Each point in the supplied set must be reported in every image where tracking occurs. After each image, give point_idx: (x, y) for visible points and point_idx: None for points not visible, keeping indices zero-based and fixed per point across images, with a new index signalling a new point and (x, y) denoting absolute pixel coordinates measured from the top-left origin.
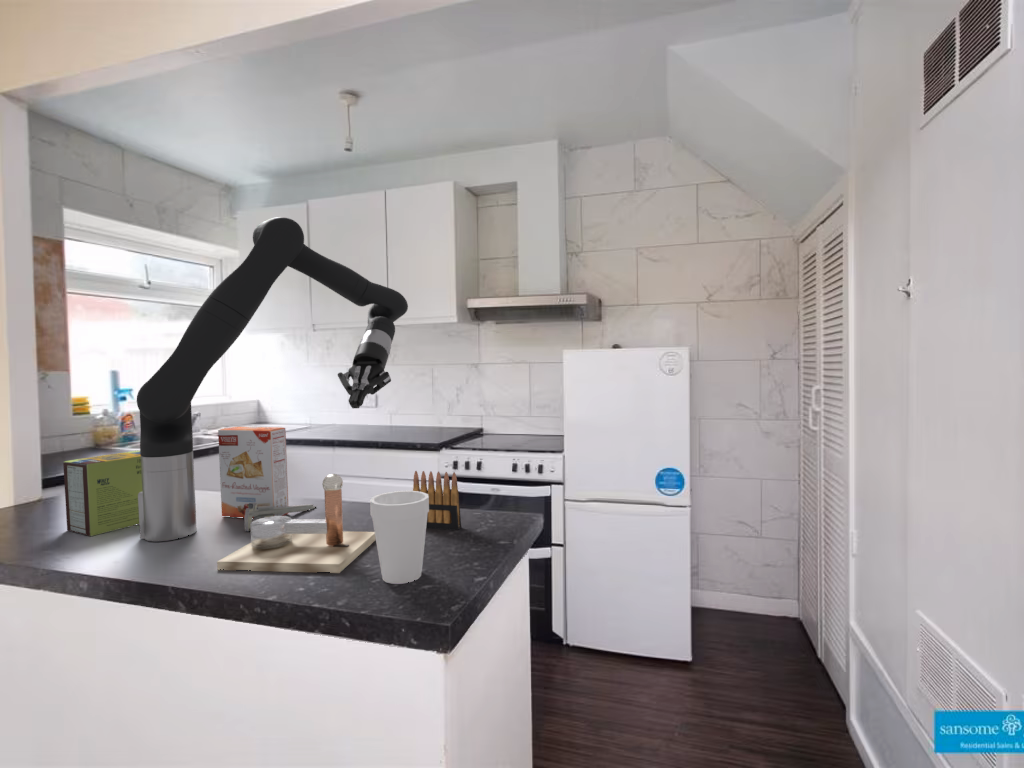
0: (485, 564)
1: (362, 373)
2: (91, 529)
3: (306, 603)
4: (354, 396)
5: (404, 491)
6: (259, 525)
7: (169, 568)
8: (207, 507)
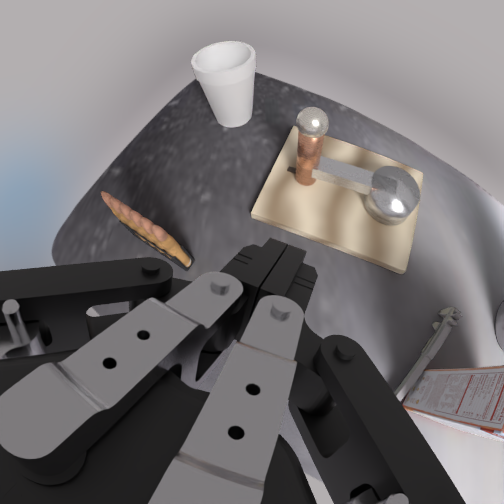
0: (157, 124)
1: (154, 452)
2: None
3: (312, 93)
4: (280, 262)
5: (212, 71)
6: (404, 174)
7: (465, 201)
8: (500, 458)
